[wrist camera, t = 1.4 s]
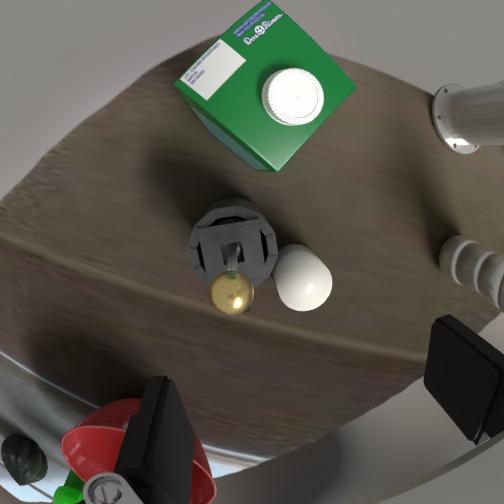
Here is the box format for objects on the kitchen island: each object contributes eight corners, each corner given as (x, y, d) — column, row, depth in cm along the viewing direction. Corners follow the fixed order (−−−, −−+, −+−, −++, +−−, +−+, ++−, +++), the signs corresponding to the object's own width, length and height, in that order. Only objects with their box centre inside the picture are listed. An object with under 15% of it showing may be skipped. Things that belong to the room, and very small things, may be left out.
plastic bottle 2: (433, 281, 49) (528, 348, 24) (432, 236, 46) (540, 287, 22) (465, 270, 48) (558, 325, 24) (464, 227, 46) (569, 267, 22)
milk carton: (256, 171, 43) (282, 174, 18) (207, 130, 41) (171, 83, 17) (298, 125, 41) (370, 78, 17) (250, 84, 39) (266, -5, 15)
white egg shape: (314, 240, 46) (330, 254, 38) (318, 284, 47) (333, 305, 40) (268, 248, 46) (274, 264, 38) (274, 291, 47) (281, 315, 40)
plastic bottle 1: (86, 439, 56) (53, 517, 32) (118, 463, 58) (95, 541, 34) (68, 448, 57) (37, 517, 33) (98, 470, 59) (75, 540, 35)
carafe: (261, 191, 43) (271, 201, 31) (273, 272, 47) (286, 310, 34) (195, 203, 43) (179, 216, 31) (211, 282, 46) (202, 322, 34)
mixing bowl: (106, 452, 57) (90, 499, 42) (71, 361, 50) (36, 411, 35) (221, 465, 58) (220, 518, 43) (215, 374, 51) (209, 439, 36)
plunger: (254, 214, 35) (269, 251, 20) (262, 264, 37) (280, 333, 21) (202, 223, 35) (176, 266, 20) (212, 272, 37) (196, 345, 21)
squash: (0, 428, 49) (-10, 471, 40) (46, 456, 52) (36, 498, 43) (16, 426, 60) (6, 464, 52) (57, 450, 63) (46, 487, 55)
